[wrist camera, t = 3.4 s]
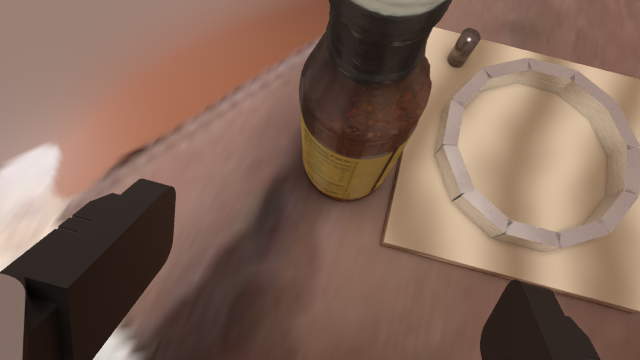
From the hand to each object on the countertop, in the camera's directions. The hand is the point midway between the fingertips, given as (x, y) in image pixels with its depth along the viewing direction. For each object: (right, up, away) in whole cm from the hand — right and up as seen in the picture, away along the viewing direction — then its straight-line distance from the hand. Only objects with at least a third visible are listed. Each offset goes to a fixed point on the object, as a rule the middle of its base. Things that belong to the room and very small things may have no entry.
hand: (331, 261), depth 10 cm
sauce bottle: (+1, +3, +22) cm, 22 cm away
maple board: (+15, +3, +22) cm, 27 cm away
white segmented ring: (+15, +4, +21) cm, 26 cm away
